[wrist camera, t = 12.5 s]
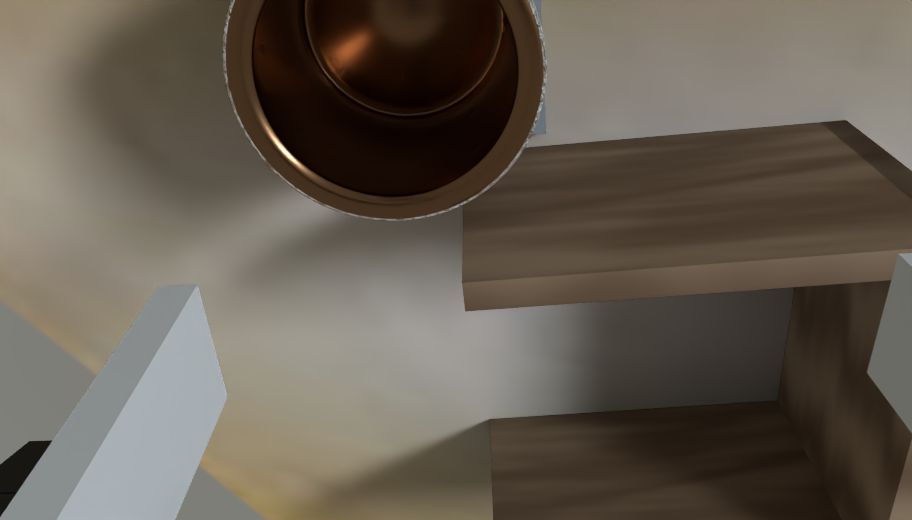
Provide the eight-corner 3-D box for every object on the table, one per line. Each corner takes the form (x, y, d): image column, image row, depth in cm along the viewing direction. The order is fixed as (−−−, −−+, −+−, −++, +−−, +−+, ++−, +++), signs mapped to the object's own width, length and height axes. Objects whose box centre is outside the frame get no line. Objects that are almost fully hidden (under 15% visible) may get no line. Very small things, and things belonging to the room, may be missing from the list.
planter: (254, 81, 34) (186, 161, 26) (323, -171, 29) (266, -171, 21) (472, 165, 36) (473, 264, 28) (572, -58, 31) (609, -18, 23)
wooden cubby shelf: (463, 153, 37) (462, 282, 26) (846, 120, 36) (1003, 242, 25) (491, 434, 46) (498, 612, 35) (795, 415, 45) (895, 593, 34)
